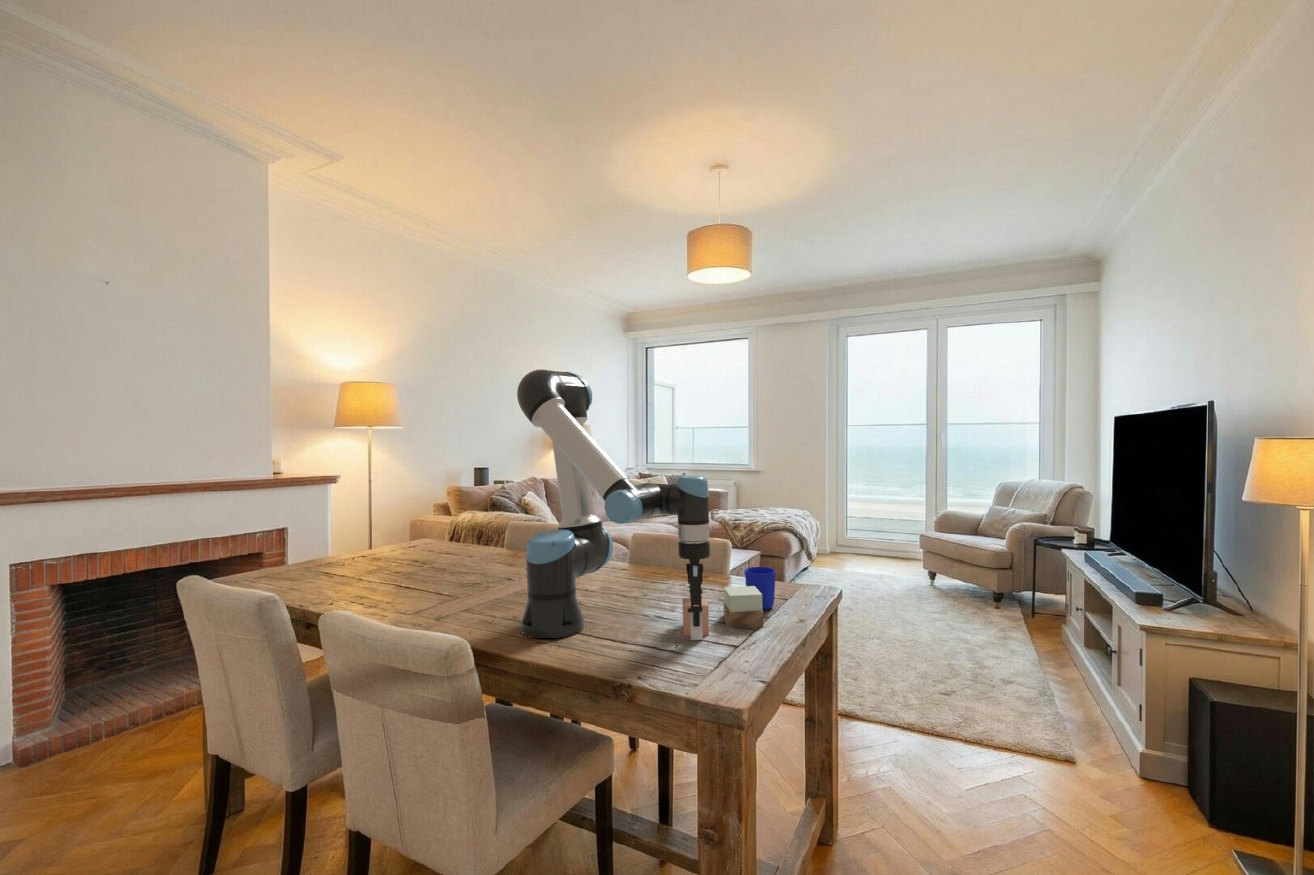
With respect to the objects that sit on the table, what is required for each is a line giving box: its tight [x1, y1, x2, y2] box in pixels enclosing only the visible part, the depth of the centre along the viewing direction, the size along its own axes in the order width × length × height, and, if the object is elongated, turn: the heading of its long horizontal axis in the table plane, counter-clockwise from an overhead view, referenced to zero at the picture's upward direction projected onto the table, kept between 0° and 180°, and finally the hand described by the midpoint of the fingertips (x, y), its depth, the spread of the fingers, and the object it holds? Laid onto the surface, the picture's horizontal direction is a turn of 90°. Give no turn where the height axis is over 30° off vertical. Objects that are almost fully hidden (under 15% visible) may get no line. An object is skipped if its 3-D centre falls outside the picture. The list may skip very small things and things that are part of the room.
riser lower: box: [723, 602, 764, 628], centre depth 150 cm, size 9×9×4 cm
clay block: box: [682, 597, 710, 636], centre depth 144 cm, size 6×6×7 cm
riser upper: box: [723, 585, 764, 612], centre depth 150 cm, size 8×8×4 cm
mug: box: [744, 566, 777, 611], centre depth 163 cm, size 8×12×10 cm
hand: (696, 630), depth 144 cm, fingers open, 12 cm apart
